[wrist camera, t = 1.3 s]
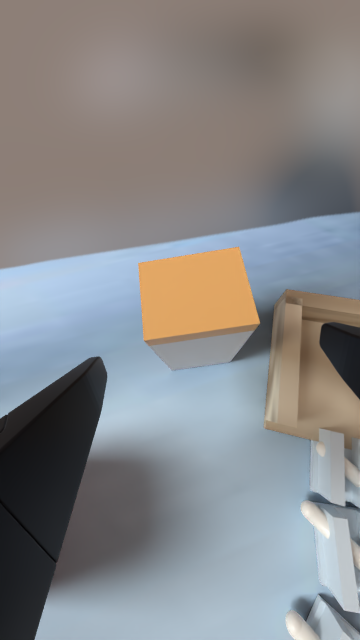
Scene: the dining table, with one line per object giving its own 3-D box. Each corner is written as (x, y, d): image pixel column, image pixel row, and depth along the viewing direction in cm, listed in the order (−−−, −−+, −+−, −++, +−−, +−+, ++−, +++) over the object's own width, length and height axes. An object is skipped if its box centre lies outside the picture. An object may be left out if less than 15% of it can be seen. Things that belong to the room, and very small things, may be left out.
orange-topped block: (229, 362, 19) (260, 323, 9) (171, 370, 19) (143, 340, 9) (220, 318, 20) (238, 246, 11) (166, 327, 20) (138, 263, 11)
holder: (419, 466, 15) (469, 481, 12) (263, 428, 17) (276, 433, 14) (402, 325, 18) (439, 311, 16) (274, 305, 20) (286, 289, 17)
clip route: (403, 453, 15) (431, 460, 14) (398, 764, 11) (438, 839, 9) (307, 419, 17) (321, 422, 15) (268, 688, 12) (280, 740, 10)
